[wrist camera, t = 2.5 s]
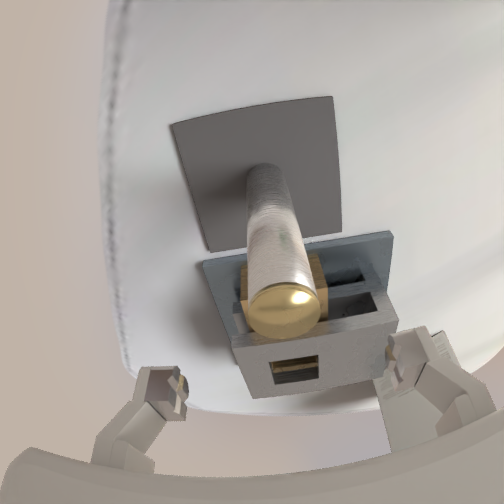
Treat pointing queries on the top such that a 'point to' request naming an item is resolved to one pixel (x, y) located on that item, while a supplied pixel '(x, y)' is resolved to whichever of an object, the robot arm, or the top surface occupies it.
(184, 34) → the top surface
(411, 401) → the supplement box
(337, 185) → the mat
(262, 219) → the pin
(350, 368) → the grey layered square block
